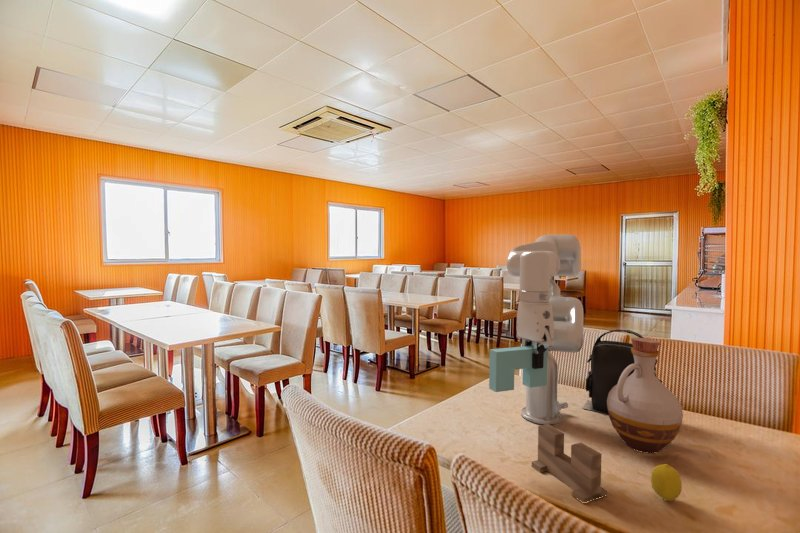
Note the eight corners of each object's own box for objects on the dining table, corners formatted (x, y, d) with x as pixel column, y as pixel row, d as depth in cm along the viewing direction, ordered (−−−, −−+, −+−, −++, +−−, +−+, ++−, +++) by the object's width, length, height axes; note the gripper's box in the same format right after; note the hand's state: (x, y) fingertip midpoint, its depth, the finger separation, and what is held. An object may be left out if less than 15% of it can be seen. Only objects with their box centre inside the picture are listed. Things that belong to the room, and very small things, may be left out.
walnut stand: (552, 460, 102) (553, 422, 101) (607, 496, 87) (608, 451, 87) (531, 466, 99) (532, 427, 99) (583, 504, 84) (584, 458, 84)
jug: (649, 471, 97) (653, 350, 95) (587, 439, 113) (589, 336, 111) (696, 454, 105) (700, 342, 104) (632, 426, 121) (634, 330, 120)
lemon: (644, 493, 88) (645, 458, 88) (667, 491, 89) (668, 457, 88) (663, 509, 83) (664, 472, 82) (687, 507, 83) (689, 470, 83)
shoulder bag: (662, 416, 129) (665, 331, 127) (661, 426, 121) (663, 336, 120) (587, 400, 142) (589, 323, 141) (582, 409, 135) (583, 327, 133)
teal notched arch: (539, 381, 108) (539, 344, 108) (546, 385, 105) (547, 347, 105) (489, 388, 102) (489, 349, 102) (495, 392, 100) (496, 352, 99)
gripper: (568, 300, 98) (566, 373, 99) (525, 294, 114) (524, 357, 114) (544, 301, 96) (542, 376, 96) (503, 295, 111) (502, 359, 111)
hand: (533, 365), depth 105 cm, fingers closed on teal notched arch, 3 cm apart
